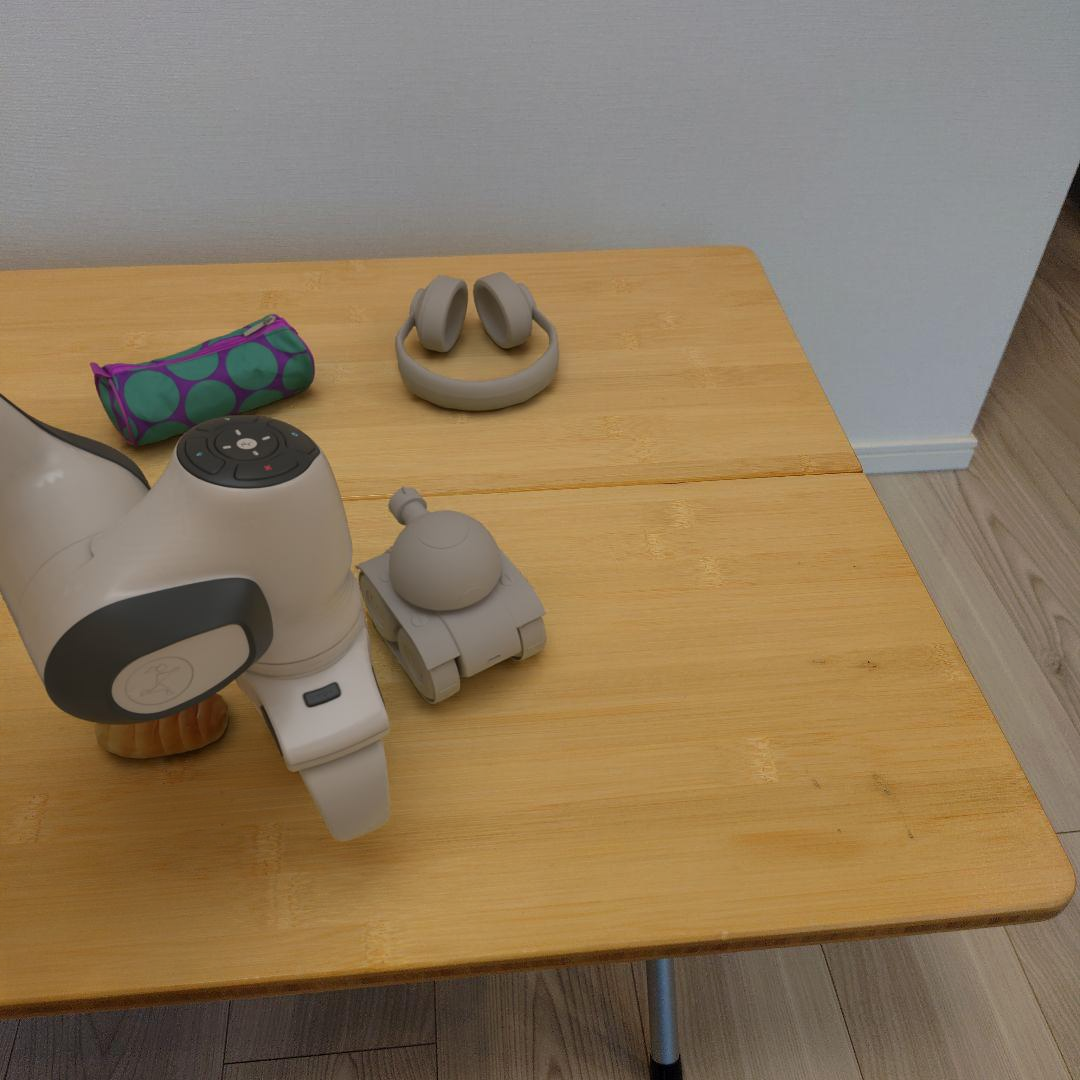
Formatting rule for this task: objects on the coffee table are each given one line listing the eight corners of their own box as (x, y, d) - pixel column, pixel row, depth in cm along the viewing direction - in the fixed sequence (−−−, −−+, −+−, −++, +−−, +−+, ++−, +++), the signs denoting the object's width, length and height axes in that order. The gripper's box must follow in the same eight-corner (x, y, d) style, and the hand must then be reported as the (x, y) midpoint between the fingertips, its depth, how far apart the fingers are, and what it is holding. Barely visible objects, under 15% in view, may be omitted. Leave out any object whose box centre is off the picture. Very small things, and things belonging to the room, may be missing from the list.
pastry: (240, 691, 76) (229, 662, 74) (219, 764, 72) (208, 736, 69) (123, 690, 76) (108, 661, 74) (95, 763, 71) (78, 735, 69)
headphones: (395, 315, 116) (401, 433, 104) (389, 261, 110) (394, 380, 97) (544, 307, 118) (567, 422, 106) (546, 254, 111) (571, 369, 99)
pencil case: (287, 363, 109) (272, 288, 103) (323, 400, 104) (309, 324, 98) (107, 427, 100) (77, 350, 94) (136, 471, 95) (107, 393, 89)
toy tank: (356, 604, 83) (336, 493, 74) (461, 558, 87) (454, 448, 78) (438, 725, 74) (426, 617, 65) (550, 668, 78) (554, 559, 69)
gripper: (211, 549, 66) (251, 671, 76) (292, 783, 53) (328, 894, 63) (299, 522, 68) (328, 644, 78) (399, 740, 55) (418, 855, 65)
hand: (329, 758), depth 70 cm, fingers closed
